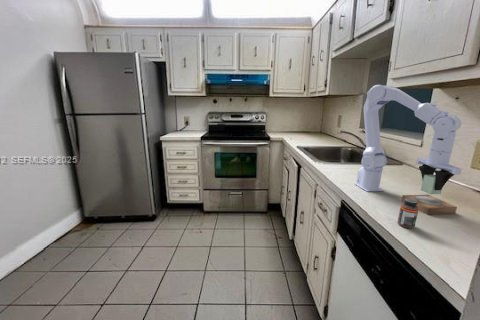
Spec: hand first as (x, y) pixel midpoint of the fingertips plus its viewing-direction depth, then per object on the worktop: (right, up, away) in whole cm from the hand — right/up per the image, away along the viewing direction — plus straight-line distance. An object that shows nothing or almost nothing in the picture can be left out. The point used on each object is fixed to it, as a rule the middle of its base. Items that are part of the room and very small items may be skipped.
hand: (431, 187), depth 82 cm
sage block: (0, -2, 0) cm, 2 cm away
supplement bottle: (-18, -11, -11) cm, 24 cm away
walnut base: (0, -7, +2) cm, 8 cm away
